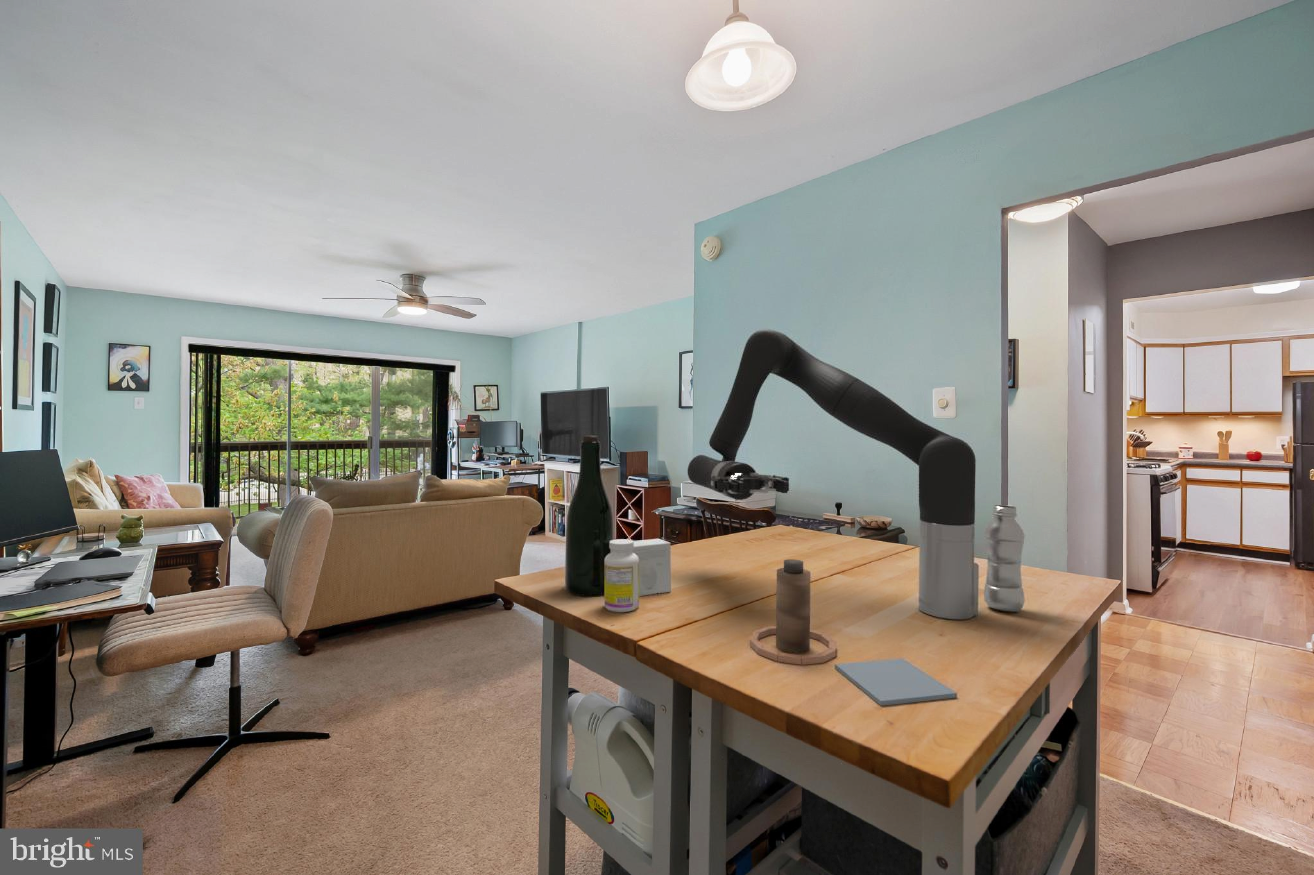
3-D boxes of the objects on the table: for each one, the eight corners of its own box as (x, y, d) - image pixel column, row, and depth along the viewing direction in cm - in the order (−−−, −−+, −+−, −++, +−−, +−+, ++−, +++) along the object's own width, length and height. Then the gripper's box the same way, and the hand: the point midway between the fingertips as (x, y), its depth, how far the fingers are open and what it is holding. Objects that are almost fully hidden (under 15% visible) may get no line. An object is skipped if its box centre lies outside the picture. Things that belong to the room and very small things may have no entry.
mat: (902, 662, 82) (902, 658, 82) (957, 697, 71) (957, 692, 71) (834, 668, 80) (834, 664, 80) (880, 705, 69) (880, 700, 69)
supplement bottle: (619, 600, 111) (619, 536, 110) (645, 606, 107) (646, 540, 107) (596, 608, 105) (597, 541, 105) (623, 615, 101) (624, 546, 101)
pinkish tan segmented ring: (810, 629, 95) (810, 623, 95) (852, 660, 82) (852, 653, 82) (739, 634, 92) (739, 628, 92) (771, 667, 80) (771, 660, 80)
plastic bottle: (1025, 617, 101) (1026, 509, 101) (982, 611, 105) (984, 506, 105) (1023, 608, 107) (1025, 505, 107) (983, 602, 111) (984, 503, 110)
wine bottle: (593, 600, 111) (594, 435, 110) (554, 591, 116) (555, 435, 116) (624, 587, 119) (624, 435, 119) (586, 580, 125) (587, 434, 124)
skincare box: (658, 584, 122) (658, 537, 122) (671, 592, 116) (672, 542, 116) (614, 590, 118) (614, 541, 118) (625, 598, 112) (626, 547, 112)
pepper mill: (800, 639, 90) (801, 557, 90) (815, 652, 85) (816, 564, 85) (770, 641, 89) (771, 558, 89) (784, 654, 84) (785, 566, 84)
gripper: (700, 461, 113) (726, 467, 97) (765, 461, 116) (801, 466, 100) (700, 498, 113) (726, 509, 97) (765, 496, 116) (800, 507, 100)
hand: (764, 487), depth 99 cm, fingers open, 8 cm apart
